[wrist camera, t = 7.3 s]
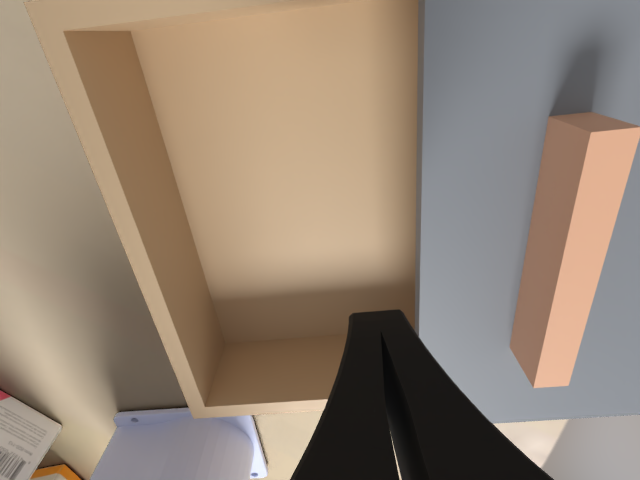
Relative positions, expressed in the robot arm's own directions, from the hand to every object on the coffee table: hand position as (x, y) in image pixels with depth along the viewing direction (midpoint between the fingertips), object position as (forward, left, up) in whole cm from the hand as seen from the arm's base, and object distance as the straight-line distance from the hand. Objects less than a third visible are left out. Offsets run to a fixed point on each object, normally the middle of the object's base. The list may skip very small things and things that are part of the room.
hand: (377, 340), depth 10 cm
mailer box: (-2, 0, -10) cm, 10 cm away
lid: (+9, 0, -5) cm, 10 cm away
